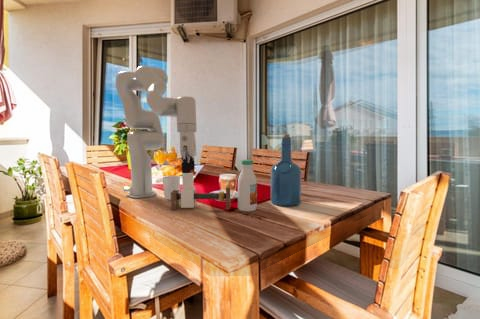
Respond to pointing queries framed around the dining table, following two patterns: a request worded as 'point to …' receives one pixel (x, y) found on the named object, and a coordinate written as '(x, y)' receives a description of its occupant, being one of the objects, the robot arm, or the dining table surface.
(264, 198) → the dining table surface
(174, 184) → the white cup
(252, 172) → the milk bottle
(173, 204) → the cord rail
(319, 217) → the dining table surface
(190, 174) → the marker sleeve
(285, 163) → the wine bottle
